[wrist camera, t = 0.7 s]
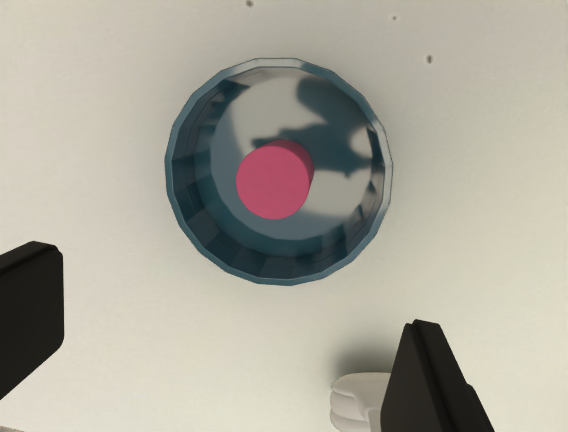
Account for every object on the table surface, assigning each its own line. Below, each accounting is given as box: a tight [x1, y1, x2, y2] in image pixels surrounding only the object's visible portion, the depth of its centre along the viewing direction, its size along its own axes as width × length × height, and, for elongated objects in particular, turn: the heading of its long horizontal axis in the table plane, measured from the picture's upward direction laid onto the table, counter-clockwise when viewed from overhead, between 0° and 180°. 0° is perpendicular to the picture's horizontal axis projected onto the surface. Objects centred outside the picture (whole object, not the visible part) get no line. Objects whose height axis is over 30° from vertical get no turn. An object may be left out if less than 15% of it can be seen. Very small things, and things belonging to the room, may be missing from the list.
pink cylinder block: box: [236, 139, 314, 219], centre depth 25 cm, size 4×4×5 cm
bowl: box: [165, 58, 393, 286], centre depth 26 cm, size 14×14×4 cm
